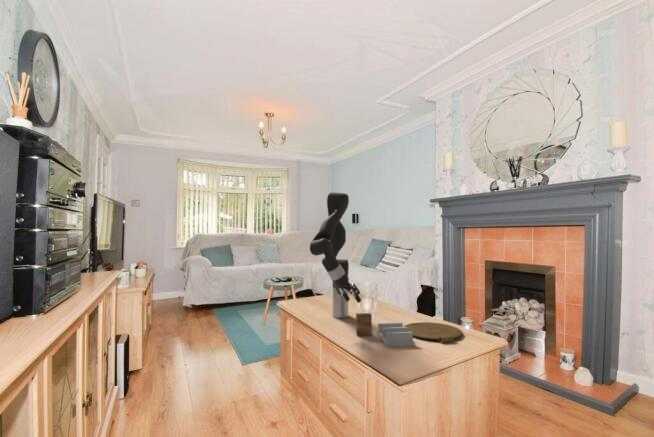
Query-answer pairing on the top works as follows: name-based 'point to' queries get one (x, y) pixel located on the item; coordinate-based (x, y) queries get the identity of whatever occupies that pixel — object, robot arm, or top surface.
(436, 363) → the top surface
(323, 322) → the top surface
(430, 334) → the decorative disc
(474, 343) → the top surface
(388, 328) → the rack
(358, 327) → the brown rectangular block
